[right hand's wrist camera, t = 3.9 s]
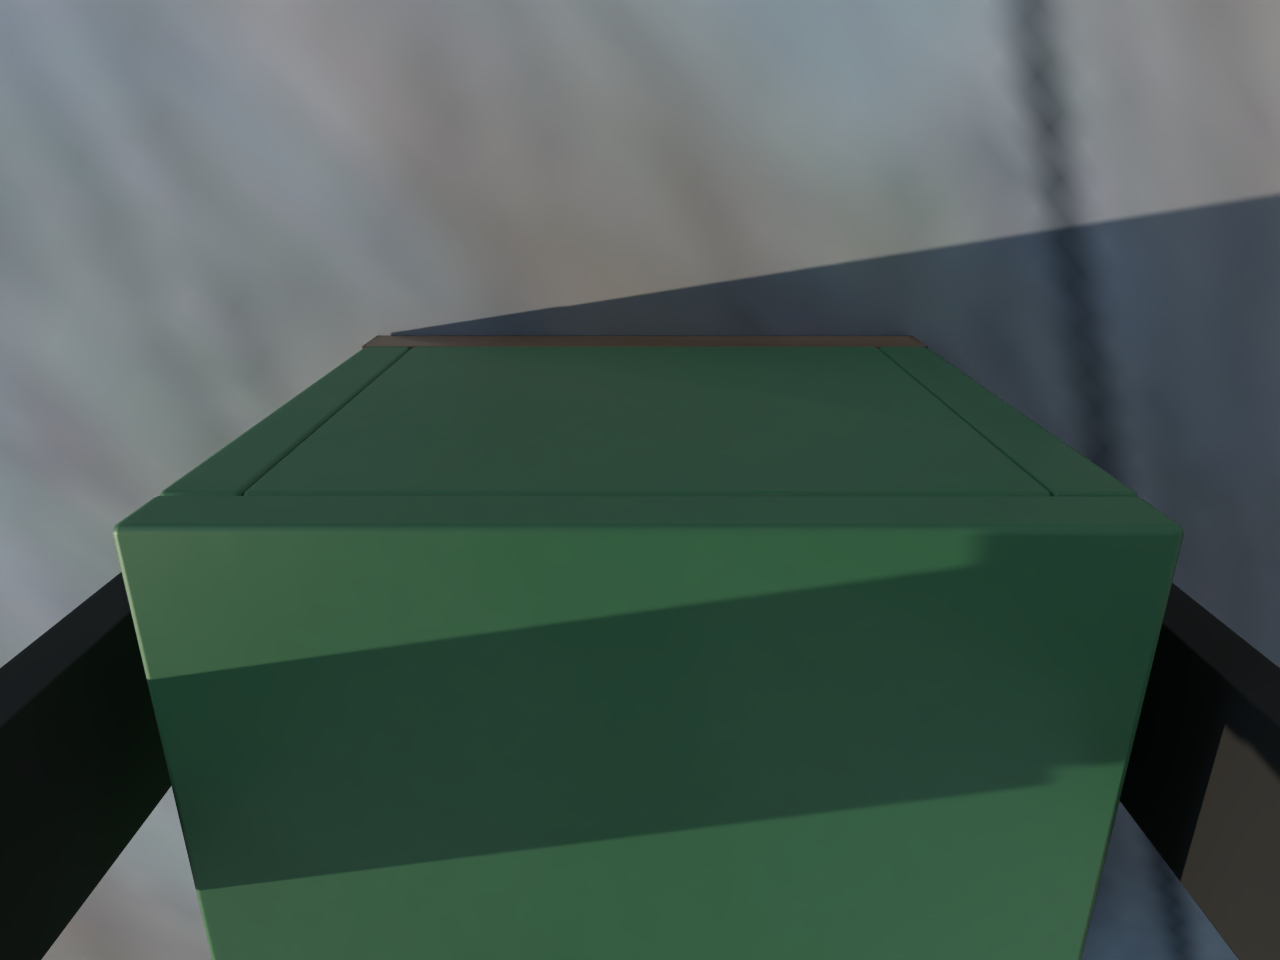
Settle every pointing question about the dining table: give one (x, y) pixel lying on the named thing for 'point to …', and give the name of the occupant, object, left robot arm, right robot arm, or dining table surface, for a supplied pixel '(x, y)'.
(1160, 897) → the dining table surface
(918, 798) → the cabinet
